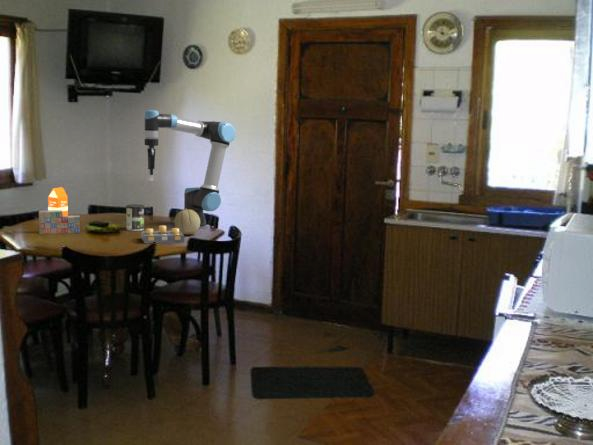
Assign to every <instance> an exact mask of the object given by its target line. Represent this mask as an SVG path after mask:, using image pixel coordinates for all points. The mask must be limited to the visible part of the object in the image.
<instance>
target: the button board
mask: <svg viewBox="0 0 593 445" xmlns="http://www.w3.org/2000/svg"><path fill="white" fill-rule="evenodd" d="M140 231H141V232H140V234H141V236H140V237H141V238H140V239H141V240H142V242H143V243H144V244H154V243H153V242H156V243H155V244H177V243H180V244H181V243H185V234H183V233H182V232H181V231H179V234H172V230H166V234H159V230H153V234H146V230H140Z"/></svg>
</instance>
